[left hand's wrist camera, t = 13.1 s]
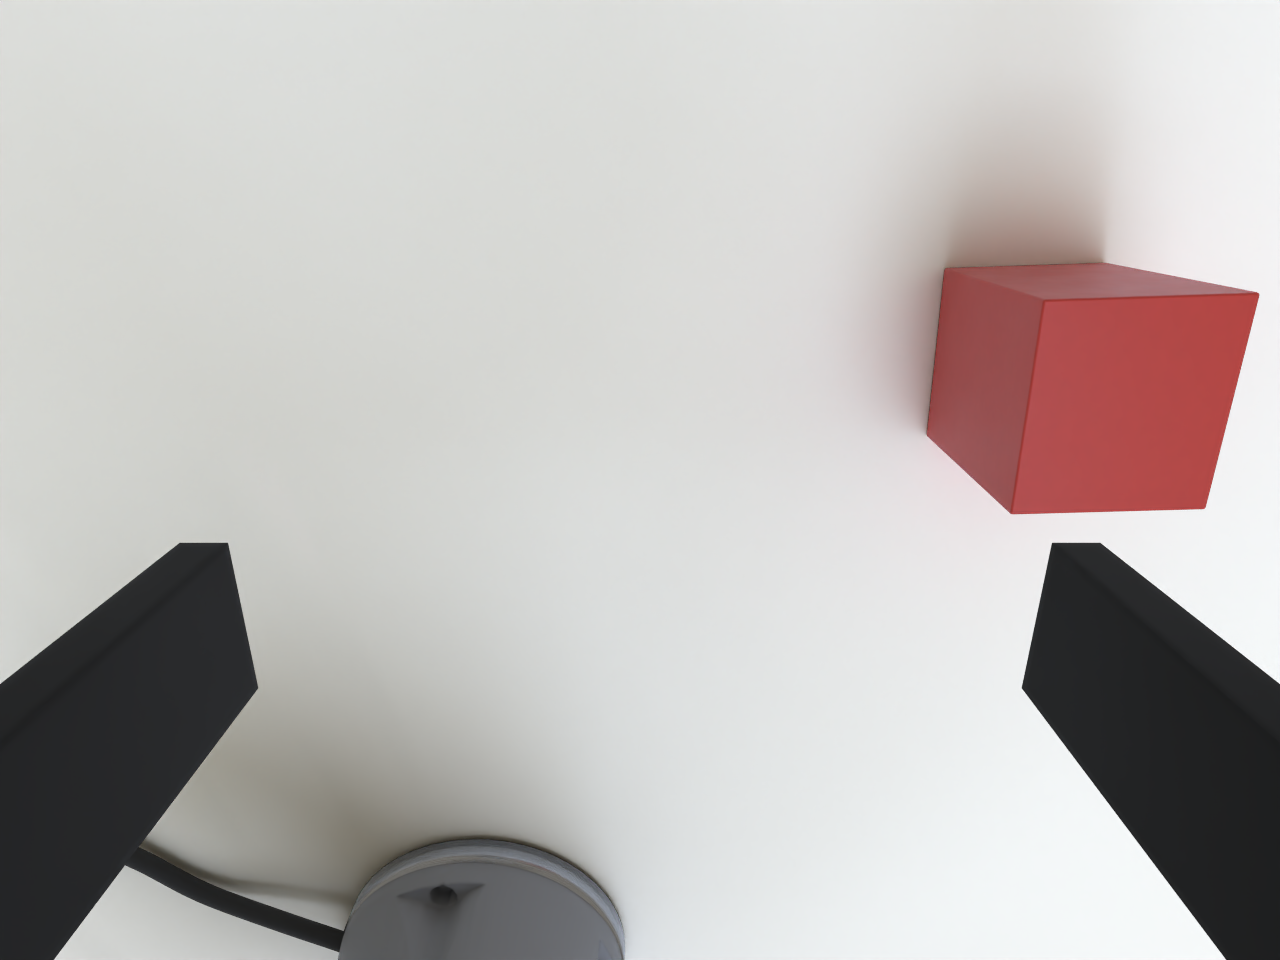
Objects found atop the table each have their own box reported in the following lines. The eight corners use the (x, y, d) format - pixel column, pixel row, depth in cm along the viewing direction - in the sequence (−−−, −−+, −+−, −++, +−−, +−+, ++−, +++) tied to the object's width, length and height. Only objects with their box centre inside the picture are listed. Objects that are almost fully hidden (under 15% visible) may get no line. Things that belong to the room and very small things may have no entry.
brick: (1075, 431, 32) (1206, 509, 25) (926, 436, 33) (1010, 515, 25) (1106, 262, 30) (1261, 292, 22) (944, 267, 30) (1044, 299, 23)
